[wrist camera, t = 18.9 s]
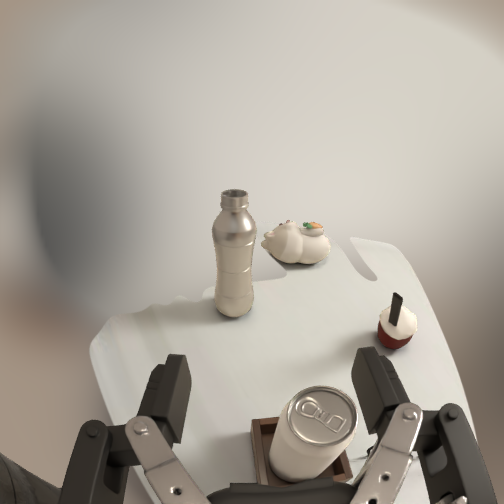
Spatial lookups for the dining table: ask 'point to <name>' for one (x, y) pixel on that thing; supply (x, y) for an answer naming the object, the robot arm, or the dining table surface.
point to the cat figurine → (297, 243)
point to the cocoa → (396, 324)
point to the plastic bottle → (234, 254)
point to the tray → (261, 447)
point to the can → (312, 433)
